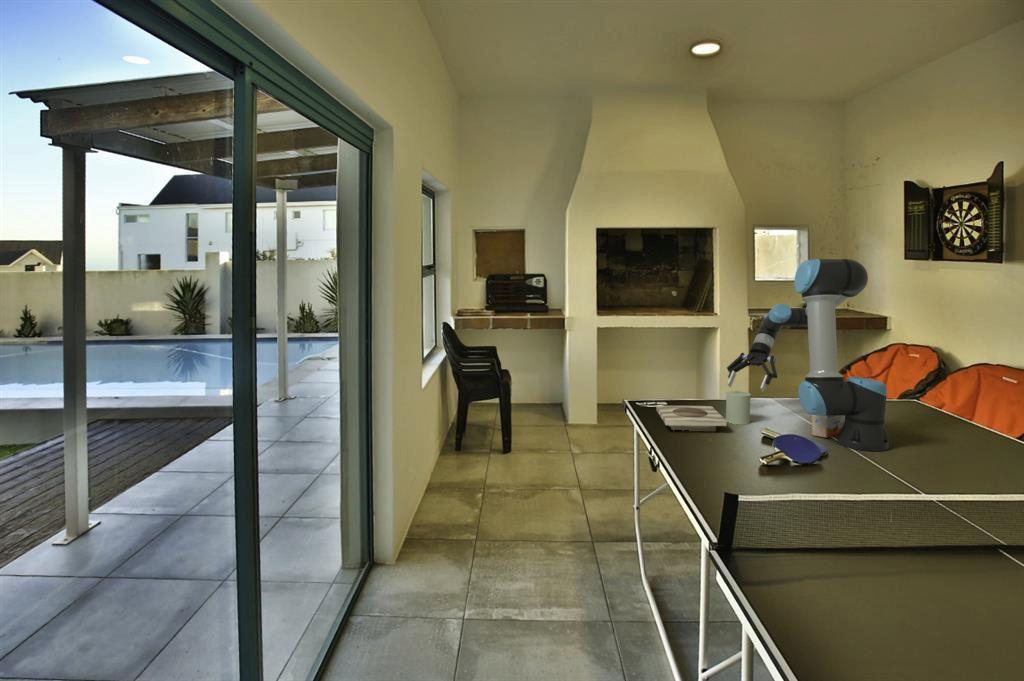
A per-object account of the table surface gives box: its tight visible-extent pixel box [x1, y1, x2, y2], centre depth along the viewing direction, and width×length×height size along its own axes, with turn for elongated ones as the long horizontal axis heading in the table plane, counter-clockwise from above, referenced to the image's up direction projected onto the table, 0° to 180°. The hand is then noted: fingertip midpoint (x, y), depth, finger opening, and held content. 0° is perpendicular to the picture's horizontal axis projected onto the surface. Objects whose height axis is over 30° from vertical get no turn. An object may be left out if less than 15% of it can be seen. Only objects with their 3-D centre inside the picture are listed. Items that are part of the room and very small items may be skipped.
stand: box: [656, 405, 728, 432], centre depth 225 cm, size 22×22×5 cm
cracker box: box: [811, 375, 846, 439], centre depth 210 cm, size 14×6×21 cm, turn 126°
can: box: [724, 390, 752, 426], centre depth 229 cm, size 9×9×12 cm
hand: (745, 387), depth 233 cm, fingers open, 13 cm apart
